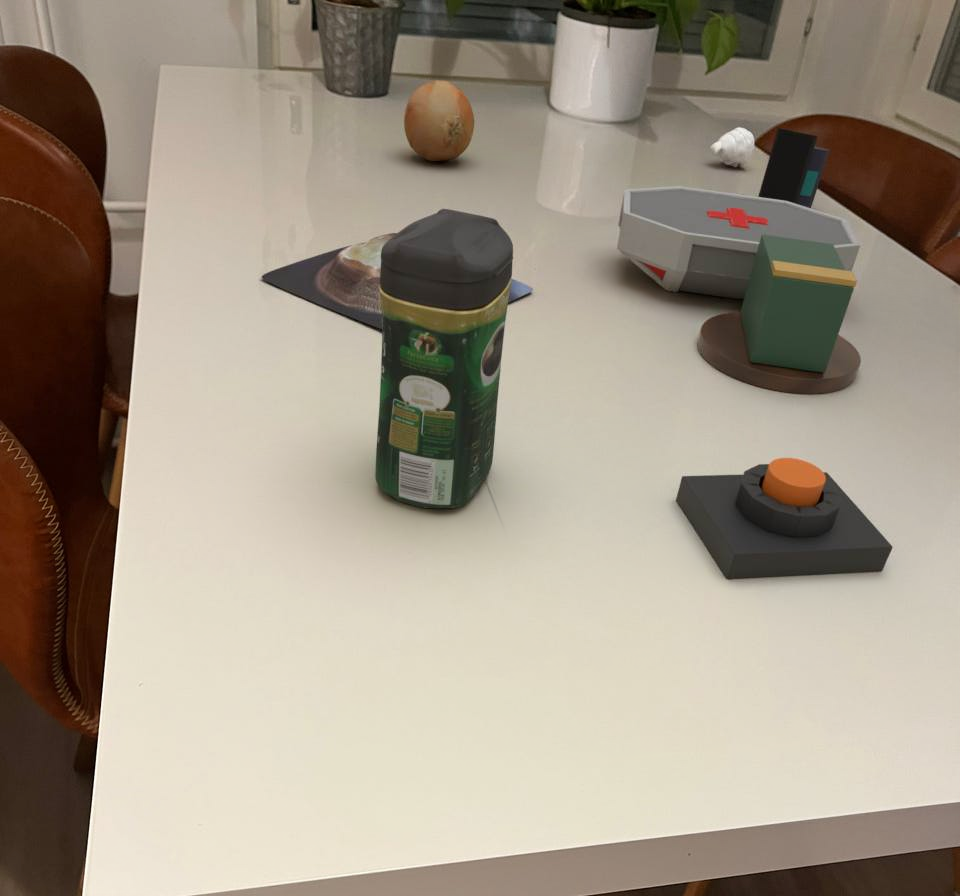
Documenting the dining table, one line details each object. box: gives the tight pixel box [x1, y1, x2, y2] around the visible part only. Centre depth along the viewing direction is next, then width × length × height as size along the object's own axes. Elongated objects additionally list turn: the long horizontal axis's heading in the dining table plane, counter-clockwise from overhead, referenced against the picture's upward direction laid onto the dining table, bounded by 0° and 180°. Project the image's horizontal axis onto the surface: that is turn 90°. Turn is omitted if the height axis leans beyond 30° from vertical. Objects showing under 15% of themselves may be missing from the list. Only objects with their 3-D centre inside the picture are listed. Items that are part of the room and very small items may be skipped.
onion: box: [403, 80, 475, 162], centre depth 136 cm, size 10×10×10 cm
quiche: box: [261, 232, 534, 330], centre depth 101 cm, size 21×20×4 cm
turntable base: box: [696, 311, 862, 395], centre depth 97 cm, size 16×16×2 cm
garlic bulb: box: [710, 127, 755, 168], centre depth 150 cm, size 6×6×5 cm
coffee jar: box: [374, 208, 514, 509], centre depth 68 cm, size 10×8×19 cm
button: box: [762, 457, 826, 507], centre depth 69 cm, size 4×4×2 cm
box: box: [739, 235, 858, 373], centre depth 93 cm, size 12×7×9 cm, turn 173°
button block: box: [675, 463, 894, 581], centre depth 71 cm, size 12×10×4 cm
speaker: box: [757, 127, 830, 209], centre depth 133 cm, size 8×6×10 cm
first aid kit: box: [616, 185, 861, 301], centre depth 109 cm, size 18×8×25 cm
